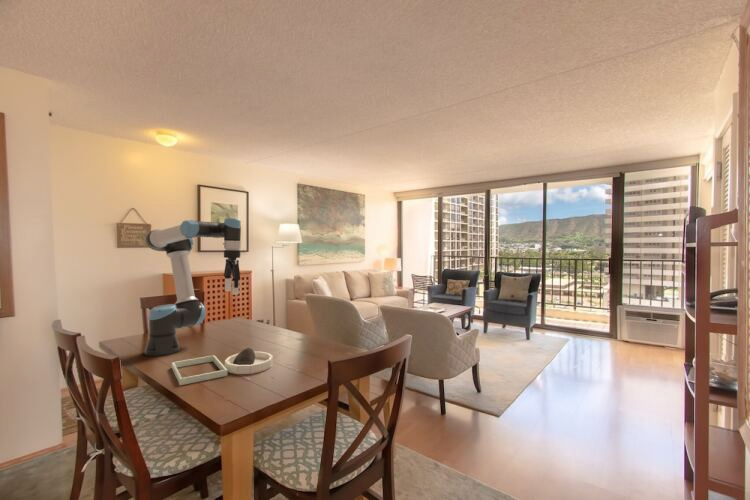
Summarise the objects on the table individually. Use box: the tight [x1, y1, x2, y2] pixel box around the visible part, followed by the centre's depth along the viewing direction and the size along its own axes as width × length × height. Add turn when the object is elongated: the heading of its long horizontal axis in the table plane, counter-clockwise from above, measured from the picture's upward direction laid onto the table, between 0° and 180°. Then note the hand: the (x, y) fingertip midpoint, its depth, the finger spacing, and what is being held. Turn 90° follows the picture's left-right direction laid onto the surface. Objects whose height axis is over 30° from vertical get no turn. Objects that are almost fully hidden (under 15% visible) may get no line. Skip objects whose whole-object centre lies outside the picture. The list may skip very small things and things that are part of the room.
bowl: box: [224, 351, 274, 375], centre depth 157 cm, size 20×20×4 cm
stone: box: [233, 347, 255, 365], centre depth 156 cm, size 10×8×10 cm
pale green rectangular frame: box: [171, 354, 229, 386], centre depth 148 cm, size 24×18×2 cm
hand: (231, 292), depth 169 cm, fingers open, 13 cm apart
